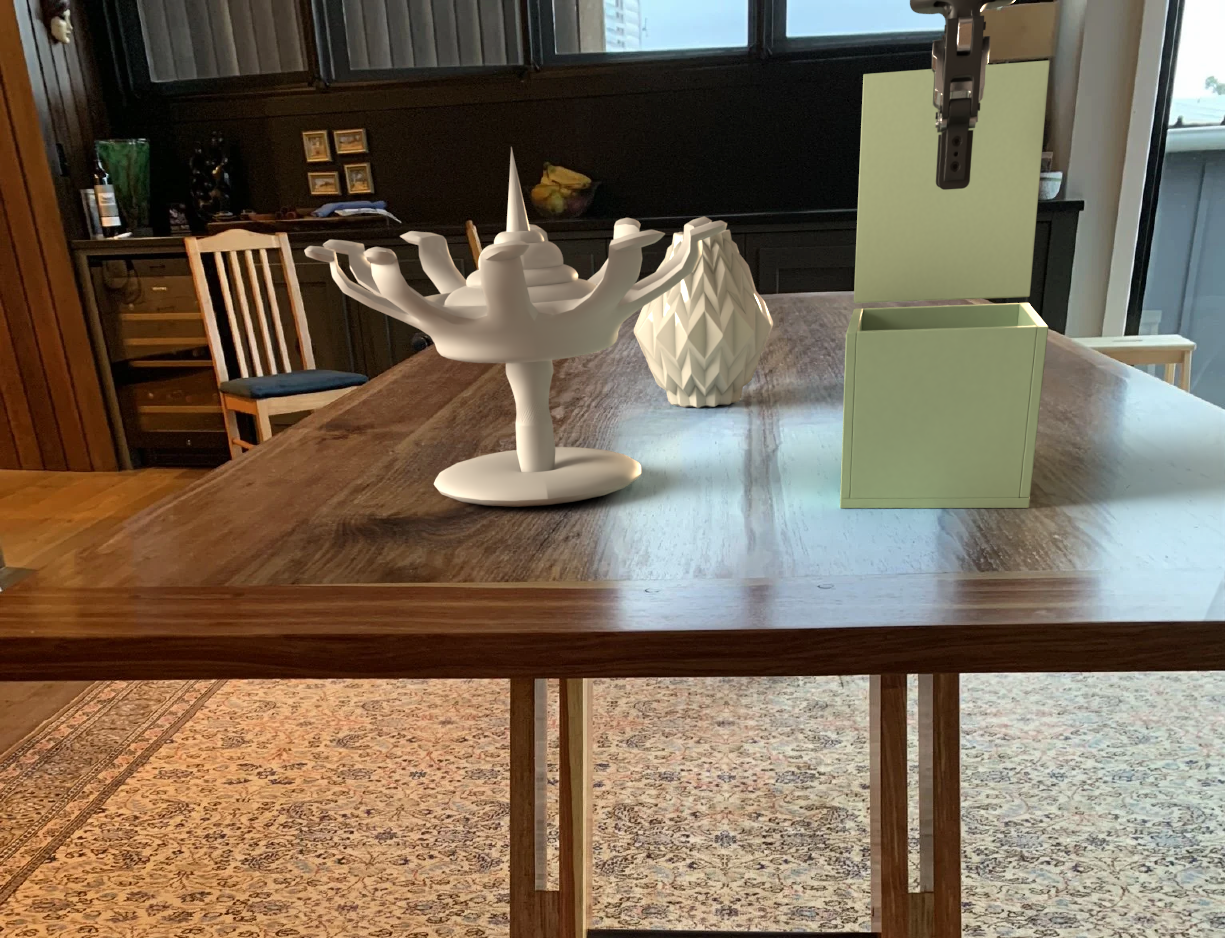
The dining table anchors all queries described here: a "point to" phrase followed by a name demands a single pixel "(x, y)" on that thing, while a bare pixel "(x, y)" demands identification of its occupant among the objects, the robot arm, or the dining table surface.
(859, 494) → the chest
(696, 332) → the vase
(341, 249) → the candelabra
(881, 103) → the lid
